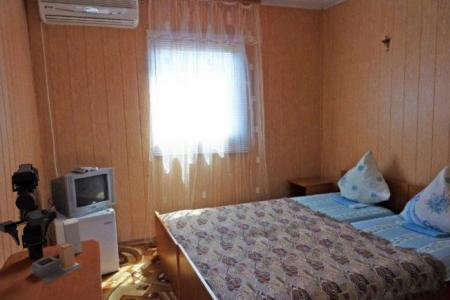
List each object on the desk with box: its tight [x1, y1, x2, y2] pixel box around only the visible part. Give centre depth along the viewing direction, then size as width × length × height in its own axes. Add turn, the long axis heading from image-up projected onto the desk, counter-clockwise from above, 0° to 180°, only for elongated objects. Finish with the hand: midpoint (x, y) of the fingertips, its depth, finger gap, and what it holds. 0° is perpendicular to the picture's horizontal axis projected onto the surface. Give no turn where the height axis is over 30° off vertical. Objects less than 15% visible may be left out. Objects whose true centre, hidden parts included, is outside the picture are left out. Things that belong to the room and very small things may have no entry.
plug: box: [58, 243, 76, 269], centre depth 124 cm, size 4×4×9 cm
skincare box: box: [62, 217, 83, 255], centre depth 138 cm, size 8×6×15 cm
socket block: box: [27, 255, 84, 284], centre depth 123 cm, size 16×14×5 cm
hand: (31, 241), depth 121 cm, fingers open, 9 cm apart
